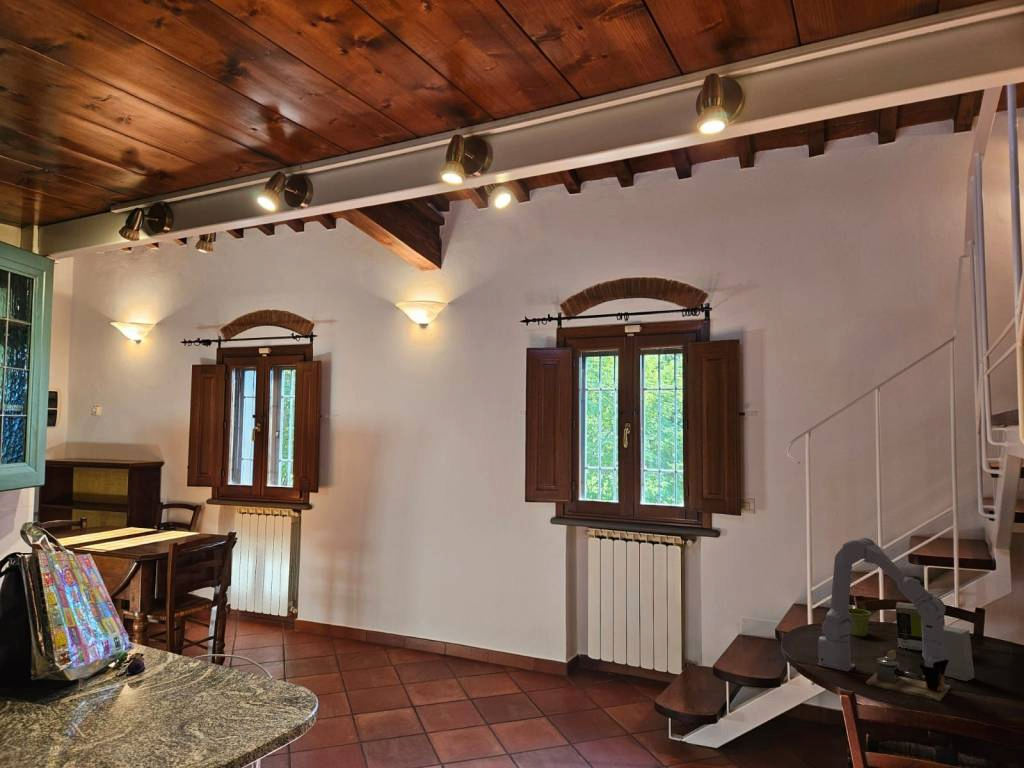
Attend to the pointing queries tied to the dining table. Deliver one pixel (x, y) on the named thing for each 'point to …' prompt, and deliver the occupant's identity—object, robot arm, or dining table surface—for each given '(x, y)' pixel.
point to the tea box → (909, 626)
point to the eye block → (887, 673)
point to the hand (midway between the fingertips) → (935, 686)
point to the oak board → (910, 687)
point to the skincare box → (958, 653)
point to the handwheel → (889, 659)
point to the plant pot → (859, 621)
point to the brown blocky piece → (921, 678)
